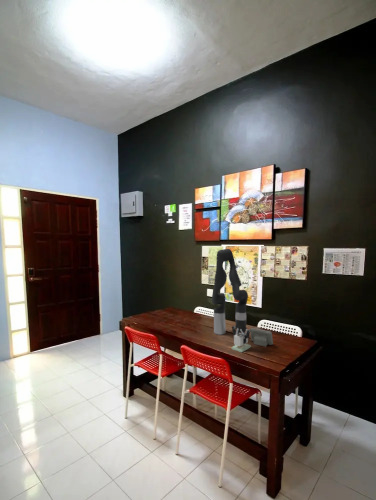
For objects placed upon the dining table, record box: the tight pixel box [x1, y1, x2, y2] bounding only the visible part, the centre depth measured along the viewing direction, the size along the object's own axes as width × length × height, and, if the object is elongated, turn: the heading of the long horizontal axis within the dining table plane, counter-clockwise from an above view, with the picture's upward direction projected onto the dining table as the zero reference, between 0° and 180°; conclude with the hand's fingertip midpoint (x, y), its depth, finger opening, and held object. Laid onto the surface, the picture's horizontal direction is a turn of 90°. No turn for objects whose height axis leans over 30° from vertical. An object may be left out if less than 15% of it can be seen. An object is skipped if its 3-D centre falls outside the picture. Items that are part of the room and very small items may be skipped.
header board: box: [231, 343, 252, 353], centre depth 170 cm, size 12×8×6 cm, turn 136°
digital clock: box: [249, 327, 274, 348], centre depth 178 cm, size 16×9×11 cm, turn 45°
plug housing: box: [233, 331, 249, 346], centre depth 170 cm, size 10×5×7 cm, turn 136°
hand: (241, 342), depth 170 cm, fingers closed on plug housing, 5 cm apart
